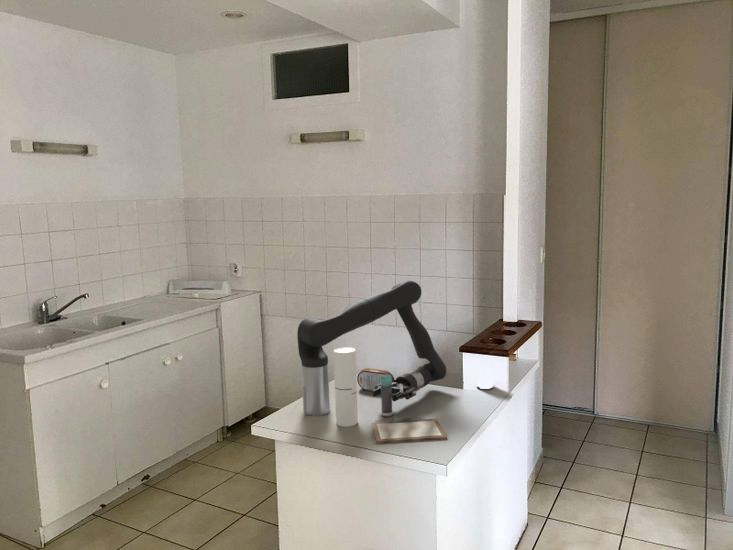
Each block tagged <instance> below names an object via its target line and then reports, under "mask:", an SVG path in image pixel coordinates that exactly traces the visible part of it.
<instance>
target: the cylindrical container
mask: <svg viewBox="0 0 733 550" xmlns="http://www.w3.org/2000/svg"><path fill="white" fill-rule="evenodd" d="M356 354H357V353H356V348H354V347H345V346H344V347H338V348H334V349H333V368H334V371H333V372H334V389H335V390H334V391H335V392H334V393H335V397H334V398H335V420H336V423H335V424H336V425H338V426H340V427H344V428H346V427H348V428H349V427H353V426H355V425H357V424H358V420H359V419H358V418H359V417H358V392H357V391H358V390H357V387H358V386H357V384H358V383H357V364H356V363H357V356H356Z"/></svg>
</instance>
